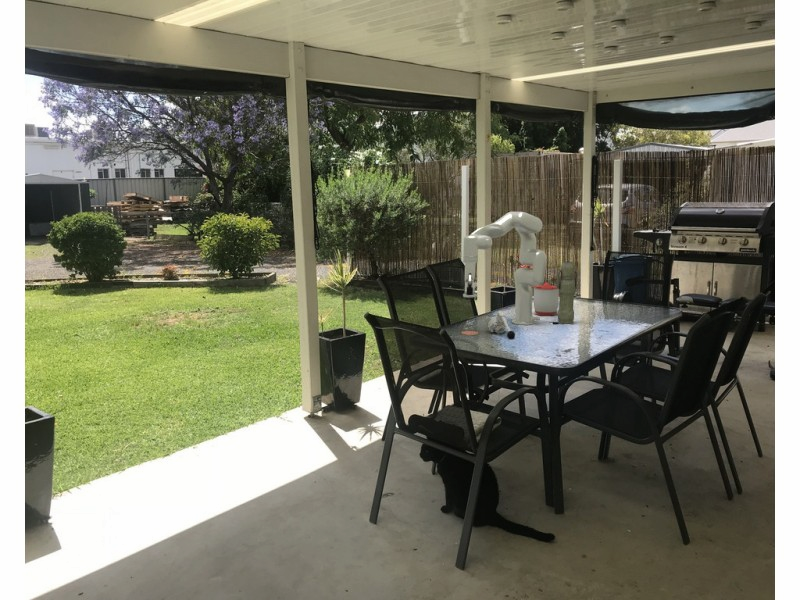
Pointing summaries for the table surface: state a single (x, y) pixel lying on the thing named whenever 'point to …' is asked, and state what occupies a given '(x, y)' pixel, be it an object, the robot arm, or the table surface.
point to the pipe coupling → (473, 291)
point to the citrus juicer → (546, 299)
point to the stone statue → (566, 292)
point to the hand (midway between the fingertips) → (469, 293)
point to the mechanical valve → (500, 325)
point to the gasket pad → (469, 332)
